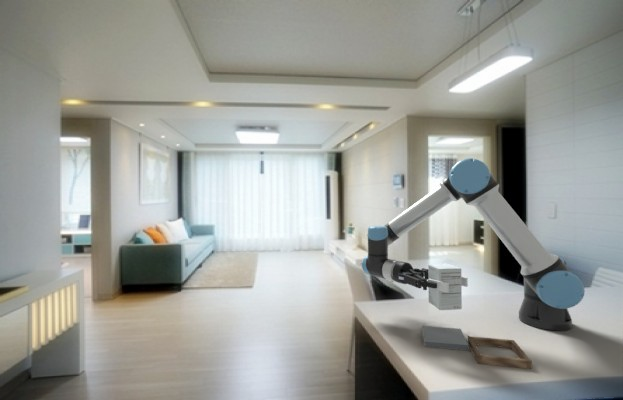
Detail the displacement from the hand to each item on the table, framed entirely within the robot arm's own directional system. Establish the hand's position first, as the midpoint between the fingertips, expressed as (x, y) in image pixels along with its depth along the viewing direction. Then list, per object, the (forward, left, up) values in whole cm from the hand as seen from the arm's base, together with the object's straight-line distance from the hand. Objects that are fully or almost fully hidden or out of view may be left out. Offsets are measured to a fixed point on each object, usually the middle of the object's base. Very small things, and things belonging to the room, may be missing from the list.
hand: (457, 284), depth 95 cm
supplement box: (+3, -3, -8) cm, 9 cm away
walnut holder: (-9, +4, -18) cm, 21 cm away
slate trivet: (+4, -3, -18) cm, 19 cm away
